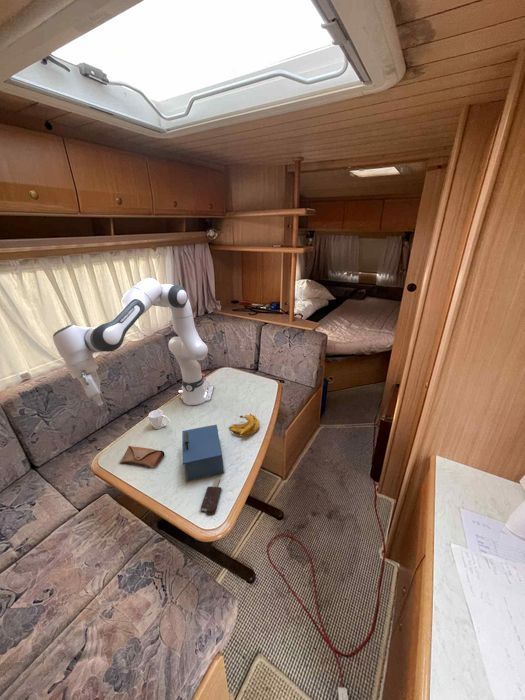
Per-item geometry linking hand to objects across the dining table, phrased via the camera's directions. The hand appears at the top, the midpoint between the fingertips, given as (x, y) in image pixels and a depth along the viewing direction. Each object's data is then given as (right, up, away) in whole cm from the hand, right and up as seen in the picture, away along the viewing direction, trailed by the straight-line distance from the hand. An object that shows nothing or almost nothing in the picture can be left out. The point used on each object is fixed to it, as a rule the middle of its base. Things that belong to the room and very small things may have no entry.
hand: (101, 401), depth 104 cm
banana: (+53, -21, +36) cm, 67 cm away
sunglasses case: (+8, -30, +18) cm, 36 cm away
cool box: (+36, -29, +17) cm, 49 cm away
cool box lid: (+35, -21, +14) cm, 43 cm away
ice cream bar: (+43, -36, 0) cm, 56 cm away
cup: (+8, -21, +39) cm, 45 cm away
